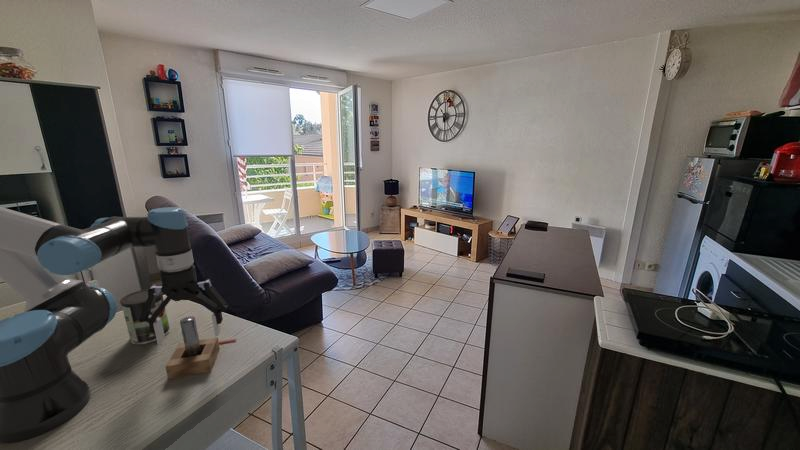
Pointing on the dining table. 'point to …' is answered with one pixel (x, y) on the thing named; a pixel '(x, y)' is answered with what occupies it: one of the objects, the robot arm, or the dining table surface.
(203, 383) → the dining table surface
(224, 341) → the thin red bar
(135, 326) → the coffee can
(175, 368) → the wooden square frame
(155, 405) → the dining table surface
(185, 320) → the steel round rod
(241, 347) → the dining table surface
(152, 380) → the dining table surface
